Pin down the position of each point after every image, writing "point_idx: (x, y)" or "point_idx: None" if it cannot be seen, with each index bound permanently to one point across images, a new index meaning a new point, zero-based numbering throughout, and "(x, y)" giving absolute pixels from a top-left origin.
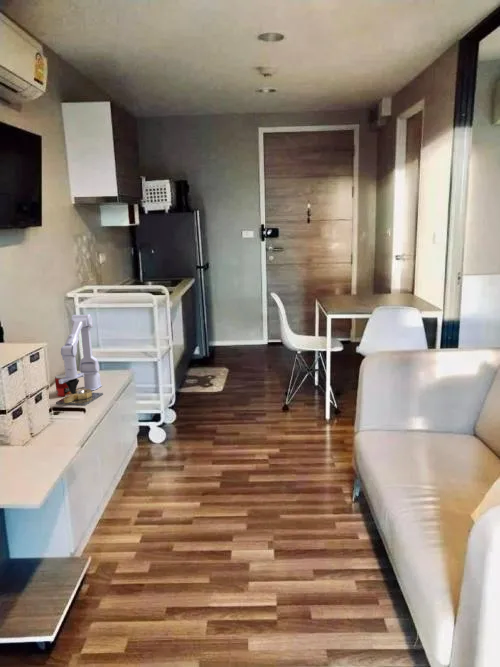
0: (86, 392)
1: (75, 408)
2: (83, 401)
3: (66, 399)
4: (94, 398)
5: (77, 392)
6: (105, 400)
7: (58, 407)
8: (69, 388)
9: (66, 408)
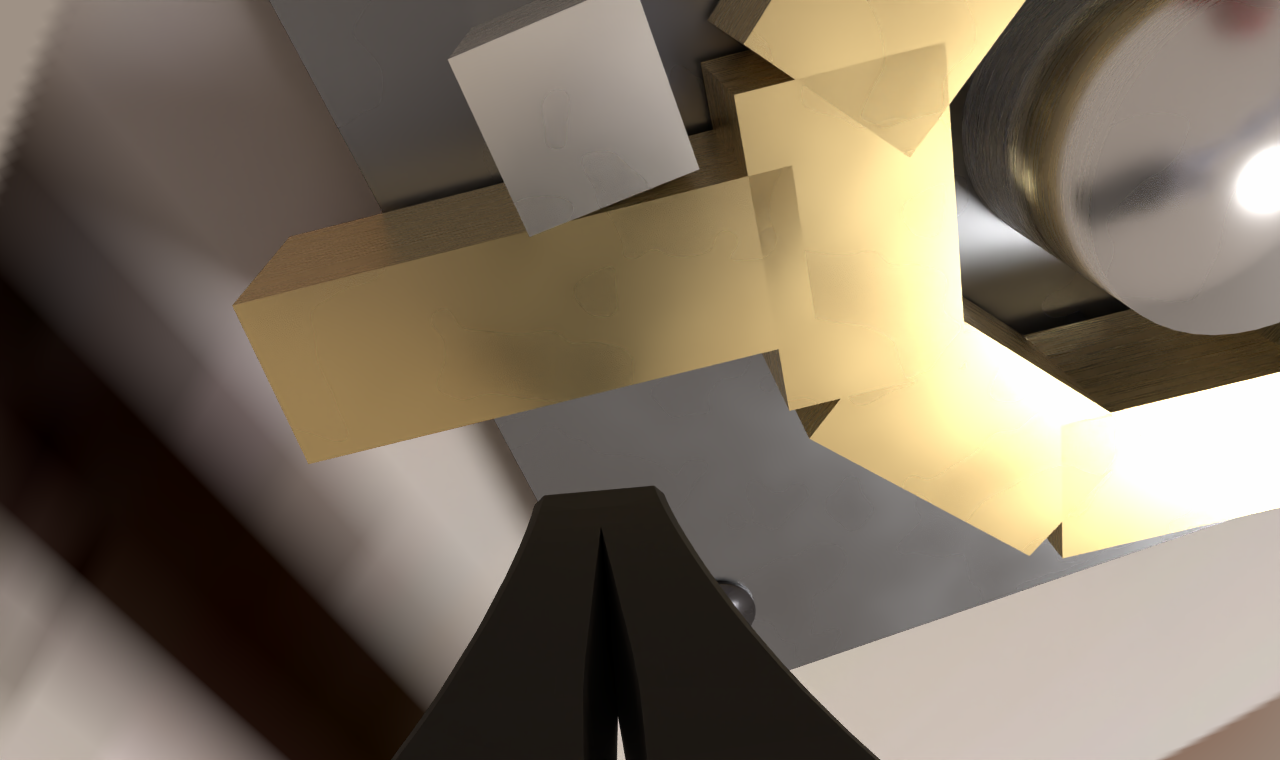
0: (1206, 435)
1: (372, 671)
2: (759, 560)
3: (299, 409)
4: (1104, 552)
5: (1070, 172)
6: (1117, 736)
7: (58, 223)
8: (466, 696)
9: (207, 503)
